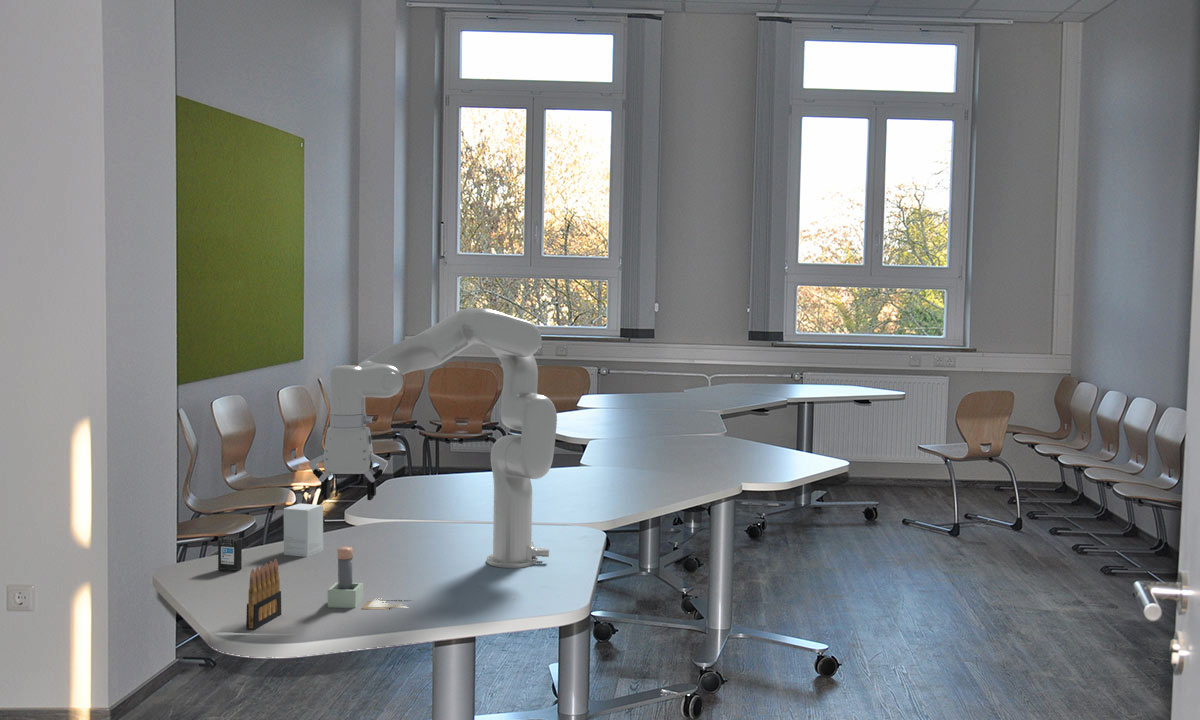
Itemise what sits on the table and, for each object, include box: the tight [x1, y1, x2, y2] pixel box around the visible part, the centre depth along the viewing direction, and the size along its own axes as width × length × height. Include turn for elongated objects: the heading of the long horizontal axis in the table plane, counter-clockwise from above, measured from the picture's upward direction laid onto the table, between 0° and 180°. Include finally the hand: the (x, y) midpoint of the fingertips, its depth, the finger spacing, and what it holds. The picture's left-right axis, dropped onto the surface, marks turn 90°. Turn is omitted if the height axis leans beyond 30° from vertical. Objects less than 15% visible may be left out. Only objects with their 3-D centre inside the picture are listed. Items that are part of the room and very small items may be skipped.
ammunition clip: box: [245, 558, 282, 631], centre depth 208 cm, size 11×2×12 cm, turn 168°
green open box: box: [327, 581, 364, 609], centre depth 221 cm, size 6×6×4 cm
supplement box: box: [283, 503, 324, 558], centre depth 263 cm, size 7×7×13 cm
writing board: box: [361, 598, 413, 610], centre depth 222 cm, size 15×12×1 cm
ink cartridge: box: [217, 536, 243, 573], centre depth 247 cm, size 5×2×8 cm, turn 79°
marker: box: [337, 546, 354, 590], centre depth 220 cm, size 3×3×12 cm
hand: (348, 498), depth 225 cm, fingers open, 9 cm apart
